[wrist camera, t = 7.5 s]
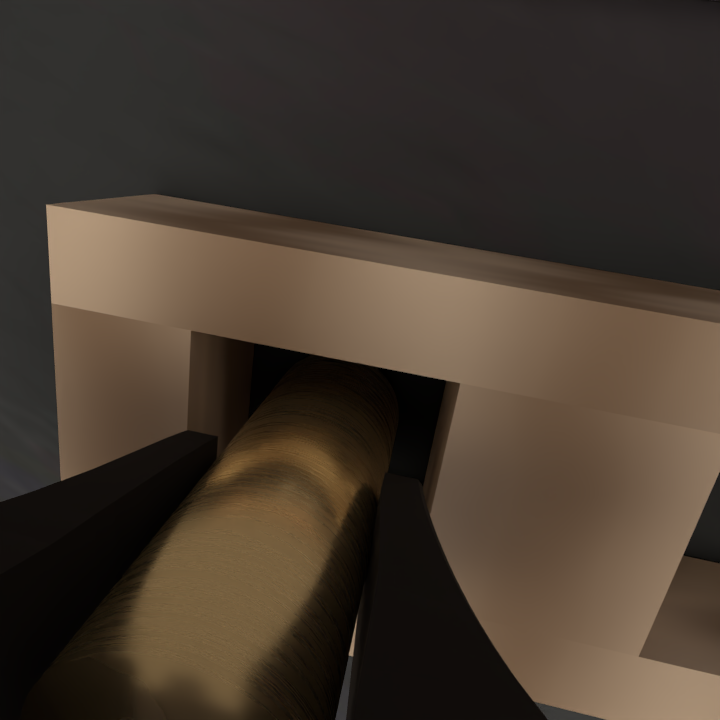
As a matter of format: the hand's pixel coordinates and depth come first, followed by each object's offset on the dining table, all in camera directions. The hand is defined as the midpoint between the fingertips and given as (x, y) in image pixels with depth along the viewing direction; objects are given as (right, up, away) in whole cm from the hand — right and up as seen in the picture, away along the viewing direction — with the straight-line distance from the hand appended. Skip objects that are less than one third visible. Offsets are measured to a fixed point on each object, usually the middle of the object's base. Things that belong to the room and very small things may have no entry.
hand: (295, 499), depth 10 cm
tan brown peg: (+1, +1, +4) cm, 4 cm away
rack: (+6, +1, +4) cm, 7 cm away
